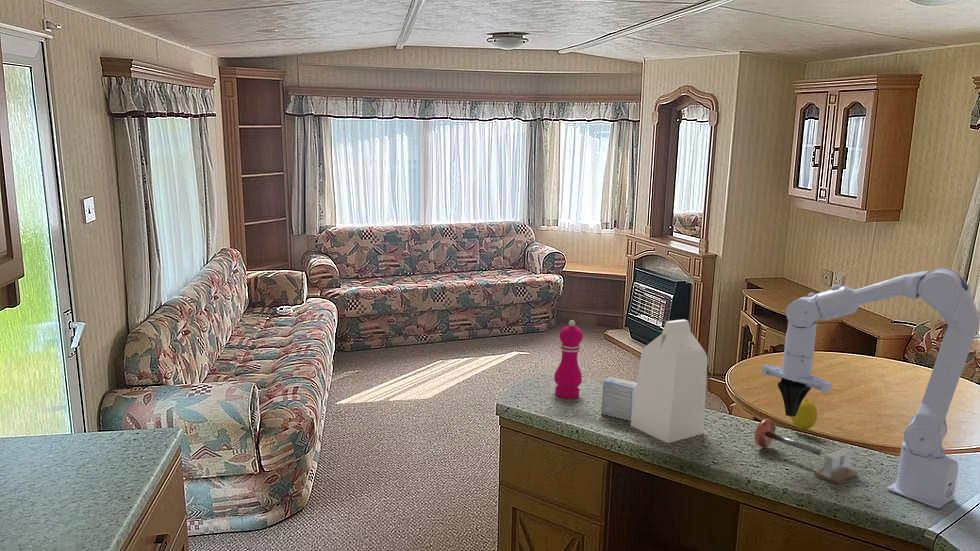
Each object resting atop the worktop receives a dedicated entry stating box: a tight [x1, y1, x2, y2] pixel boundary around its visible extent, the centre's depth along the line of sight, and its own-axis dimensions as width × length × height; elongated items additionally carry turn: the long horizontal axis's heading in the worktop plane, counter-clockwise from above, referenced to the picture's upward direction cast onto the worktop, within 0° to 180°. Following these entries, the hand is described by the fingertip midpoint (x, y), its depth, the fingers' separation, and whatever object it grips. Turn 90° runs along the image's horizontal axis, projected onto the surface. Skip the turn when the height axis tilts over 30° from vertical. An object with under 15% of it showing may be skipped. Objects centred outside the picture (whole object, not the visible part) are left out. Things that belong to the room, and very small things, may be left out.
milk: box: [630, 319, 708, 444], centre depth 167 cm, size 12×12×26 cm
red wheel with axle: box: [754, 418, 822, 456], centre depth 157 cm, size 14×6×6 cm, turn 38°
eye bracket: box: [813, 446, 859, 486], centre depth 148 cm, size 5×8×5 cm, turn 128°
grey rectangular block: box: [600, 376, 637, 422], centre depth 176 cm, size 8×4×9 cm, turn 58°
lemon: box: [791, 398, 818, 432], centre depth 172 cm, size 6×6×8 cm
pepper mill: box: [553, 319, 584, 399], centre depth 189 cm, size 7×7×20 cm
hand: (790, 415), depth 156 cm, fingers closed
